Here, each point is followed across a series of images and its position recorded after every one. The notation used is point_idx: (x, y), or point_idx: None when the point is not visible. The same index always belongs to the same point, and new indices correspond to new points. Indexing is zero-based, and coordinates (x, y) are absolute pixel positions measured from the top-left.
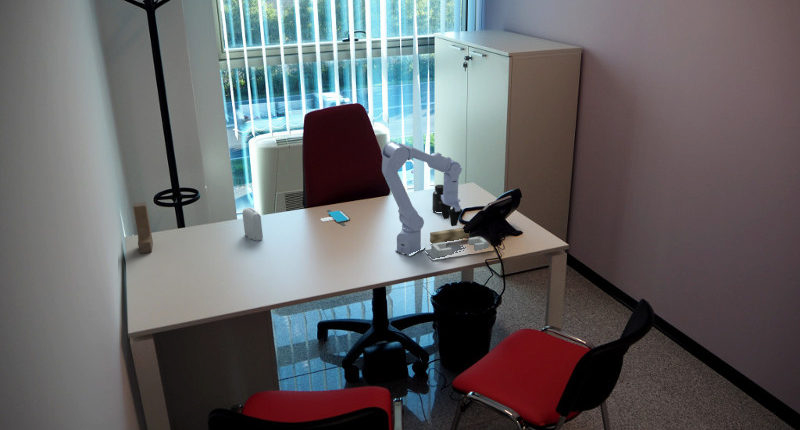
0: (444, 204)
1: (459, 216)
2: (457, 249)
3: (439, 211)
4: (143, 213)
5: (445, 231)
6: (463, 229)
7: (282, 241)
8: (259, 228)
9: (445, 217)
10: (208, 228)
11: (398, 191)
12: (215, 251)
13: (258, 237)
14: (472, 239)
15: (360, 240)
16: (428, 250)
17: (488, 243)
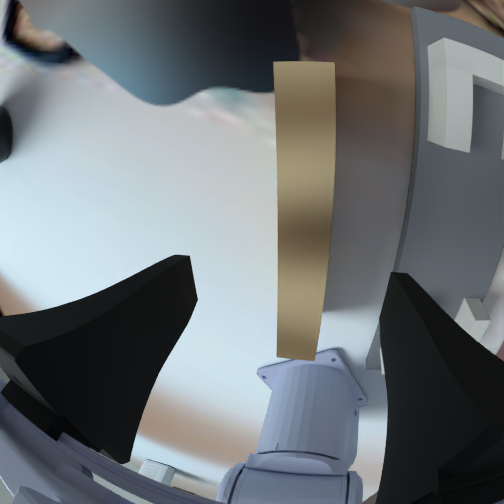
0: (109, 430)
1: (479, 343)
2: (457, 243)
3: (4, 143)
4: None
5: (300, 277)
6: (321, 116)
7: (179, 463)
8: (166, 482)
9: (187, 298)
10: (135, 462)
11: None
12: (200, 486)
13: (173, 472)
14: (471, 129)
15: (193, 423)
16: (378, 360)
17: None
